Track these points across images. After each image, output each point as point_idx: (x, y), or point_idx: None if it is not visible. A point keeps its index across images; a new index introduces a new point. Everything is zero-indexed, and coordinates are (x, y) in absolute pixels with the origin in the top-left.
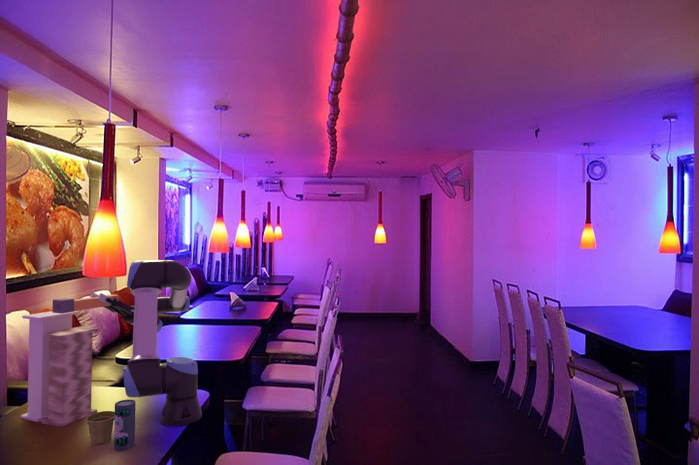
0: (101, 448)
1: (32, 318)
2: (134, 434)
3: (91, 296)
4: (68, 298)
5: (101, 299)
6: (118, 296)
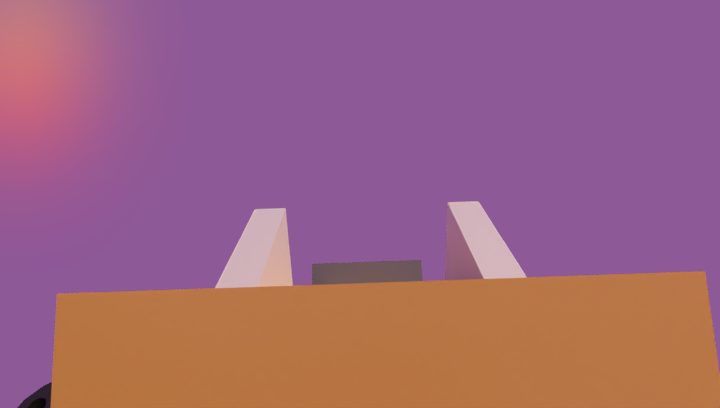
0: None
1: None
2: None
3: (446, 267)
4: (371, 262)
5: None
6: (63, 386)
